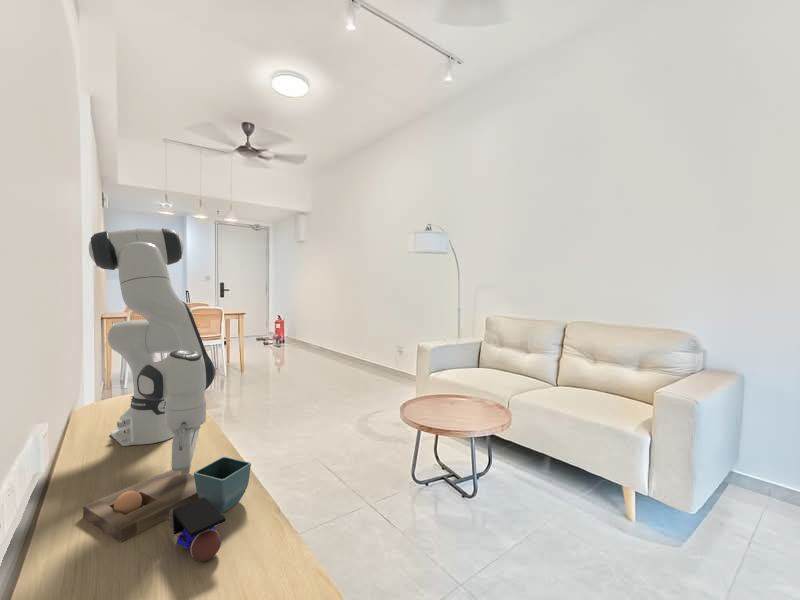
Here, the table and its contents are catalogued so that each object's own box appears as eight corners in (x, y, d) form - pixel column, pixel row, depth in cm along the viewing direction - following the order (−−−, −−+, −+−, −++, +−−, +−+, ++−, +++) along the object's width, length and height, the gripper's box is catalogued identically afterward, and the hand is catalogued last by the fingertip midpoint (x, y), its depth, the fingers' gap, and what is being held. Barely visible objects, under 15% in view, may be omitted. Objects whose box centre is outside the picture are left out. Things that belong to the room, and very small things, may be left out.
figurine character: (165, 542, 76) (191, 574, 65) (164, 504, 76) (189, 529, 66) (201, 527, 81) (230, 554, 70) (200, 491, 81) (228, 512, 71)
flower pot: (222, 521, 81) (222, 480, 80) (192, 511, 84) (192, 472, 83) (252, 499, 89) (252, 462, 88) (223, 492, 92) (223, 456, 92)
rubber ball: (124, 485, 82) (142, 485, 86) (104, 503, 80) (123, 503, 85) (132, 503, 79) (150, 502, 84) (112, 522, 78) (132, 521, 83)
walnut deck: (83, 517, 81) (83, 505, 81) (175, 477, 98) (175, 467, 98) (121, 542, 73) (121, 529, 73) (214, 494, 91) (214, 484, 91)
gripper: (196, 429, 84) (196, 490, 84) (203, 403, 103) (203, 452, 103) (163, 433, 81) (163, 495, 82) (177, 406, 100) (177, 456, 101)
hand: (186, 471), depth 93 cm, fingers closed
